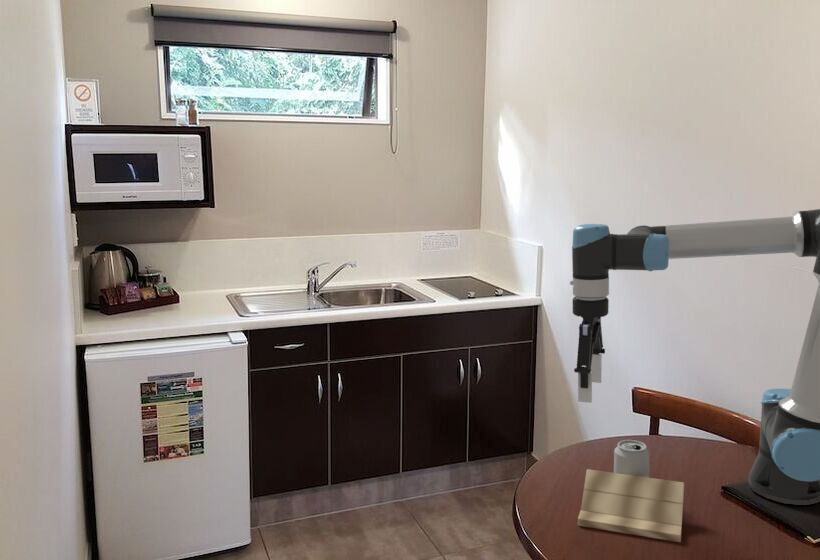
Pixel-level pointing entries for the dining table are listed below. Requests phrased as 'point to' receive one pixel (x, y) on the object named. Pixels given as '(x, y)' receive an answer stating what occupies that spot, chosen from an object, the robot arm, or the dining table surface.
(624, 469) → the can
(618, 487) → the plank
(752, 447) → the dining table surface
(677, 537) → the laid board
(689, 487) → the dining table surface
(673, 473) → the dining table surface
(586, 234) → the robot arm
